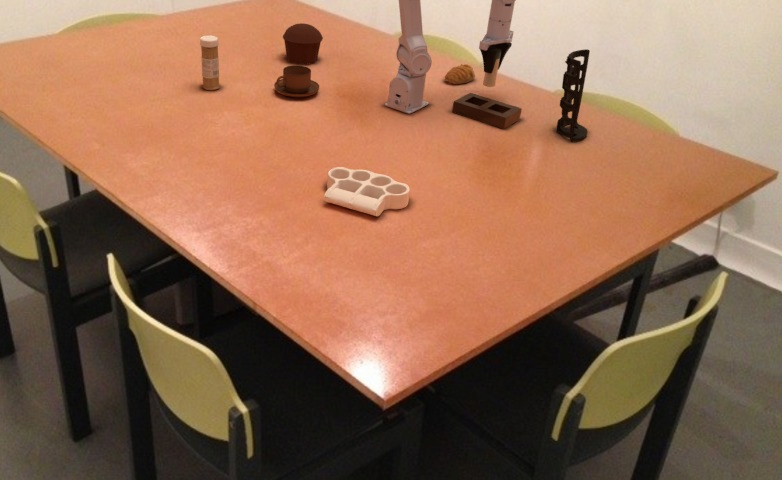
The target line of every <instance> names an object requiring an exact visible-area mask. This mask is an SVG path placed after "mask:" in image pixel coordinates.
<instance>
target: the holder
mask: <svg viewBox="0 0 782 480" xmlns="http://www.w3.org/2000/svg"><path fill="white" fill-rule="evenodd" d="M590 52H591V50H590V49H586V48H585V49H578V50H573V51H572V52H570V53H569V54H568V55H567V56H566V60H565V61H564V63H565V64H566V70H565V71H564V73H563V76H562V84H561V88H562V90H563V96H562V97H561V98H560V100H559V107H560V108H561V117H560V118H558V119H557V123H556V133H558V134H560V135H562V136H563V137H565V138H567V139H569V140H570V141H571V142H572V143H575V142H579V141H581V140H583V139H585V138H586V137H587V136H588V129H587V128H586V127H585V126H583V125H582V124H579V122H578V119H579V114H580V109H581V103H582V99H583V94H584V87H585V82H586V77H587V75H586V74H587V70H588V66H589V65H588V64H589V59H590V54H591V53H590ZM580 57H582V58H583V63H582V61H581V60H578V59H577V58H580ZM573 86H574V89H572V87H573ZM569 113H571V117H570V116H569ZM568 126H570V127H568Z"/></svg>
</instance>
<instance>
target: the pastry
mask: <svg viewBox="0 0 782 480" xmlns="http://www.w3.org/2000/svg"><path fill="white" fill-rule="evenodd" d="M475 78H476V74H475V71H474V69H473V67H472V66H471V65H469V64H468V63H467V64H460V65H457V66H454V67H452V68H450V69H449V70H448V72H446V74H445V76H444V80H445V82H448V83H450V84H453V85H460V84H461V85H463V84H467V83H469V82H473V80H474V79H475Z"/></svg>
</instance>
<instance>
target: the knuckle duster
mask: <svg viewBox="0 0 782 480" xmlns="http://www.w3.org/2000/svg"><path fill="white" fill-rule="evenodd" d="M326 183H327V184H326V188H327V190H326V191H325V193H324V194H323V201H324V202H326V203H329V204H333V205H336V206H339V207H343V208H347V209H350V210H352V211H353V210H354V211H357V212H361V213H364V214H368V215H371V216H374V217H379V216H381V215H382V213H383V212H384V211H385V210H402V209H405V208H406V207H407V206H408V205H409V202H410V201H409V200H410V192H411V189H410V186H409V185H408V184H407V183H404V182H399V181H396V180H394V178H392V176H389V175H386V174H383V173H376V172H373V171H371V170H368V169H362V168H361V169H352V168H347V167H344V166H339V167H338V166H337V167H333V168H331V169H329V171H328V172H327V182H326Z"/></svg>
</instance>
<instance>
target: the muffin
mask: <svg viewBox="0 0 782 480" xmlns="http://www.w3.org/2000/svg"><path fill="white" fill-rule="evenodd" d="M282 39H283V40H284V47H285V54H286V60H287V61H288V62H289V63H293V64H295V65H310V64H314V63H315V62H317V61H318V57H319V52H320V48H321V43H322V41H323V39H324V36H323V35H322V33H321V32H320V30H319V29H317V27H315V26H313V25H312V24H309V23H303V22H302V23H301V22H300V23H295V24H293V25H291V26H289V27H288V28H286V29H285V31H284V33H283V35H282Z"/></svg>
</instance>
